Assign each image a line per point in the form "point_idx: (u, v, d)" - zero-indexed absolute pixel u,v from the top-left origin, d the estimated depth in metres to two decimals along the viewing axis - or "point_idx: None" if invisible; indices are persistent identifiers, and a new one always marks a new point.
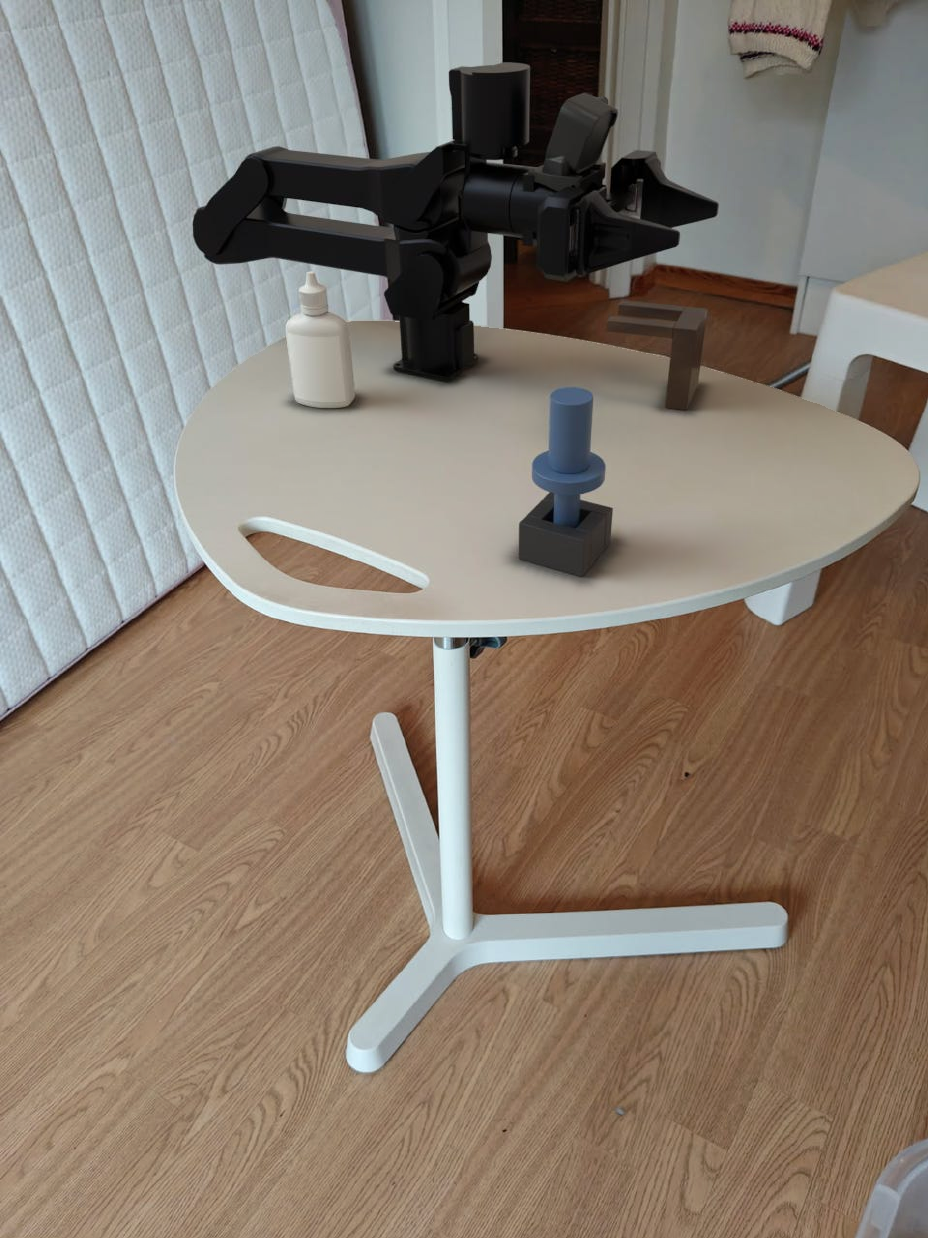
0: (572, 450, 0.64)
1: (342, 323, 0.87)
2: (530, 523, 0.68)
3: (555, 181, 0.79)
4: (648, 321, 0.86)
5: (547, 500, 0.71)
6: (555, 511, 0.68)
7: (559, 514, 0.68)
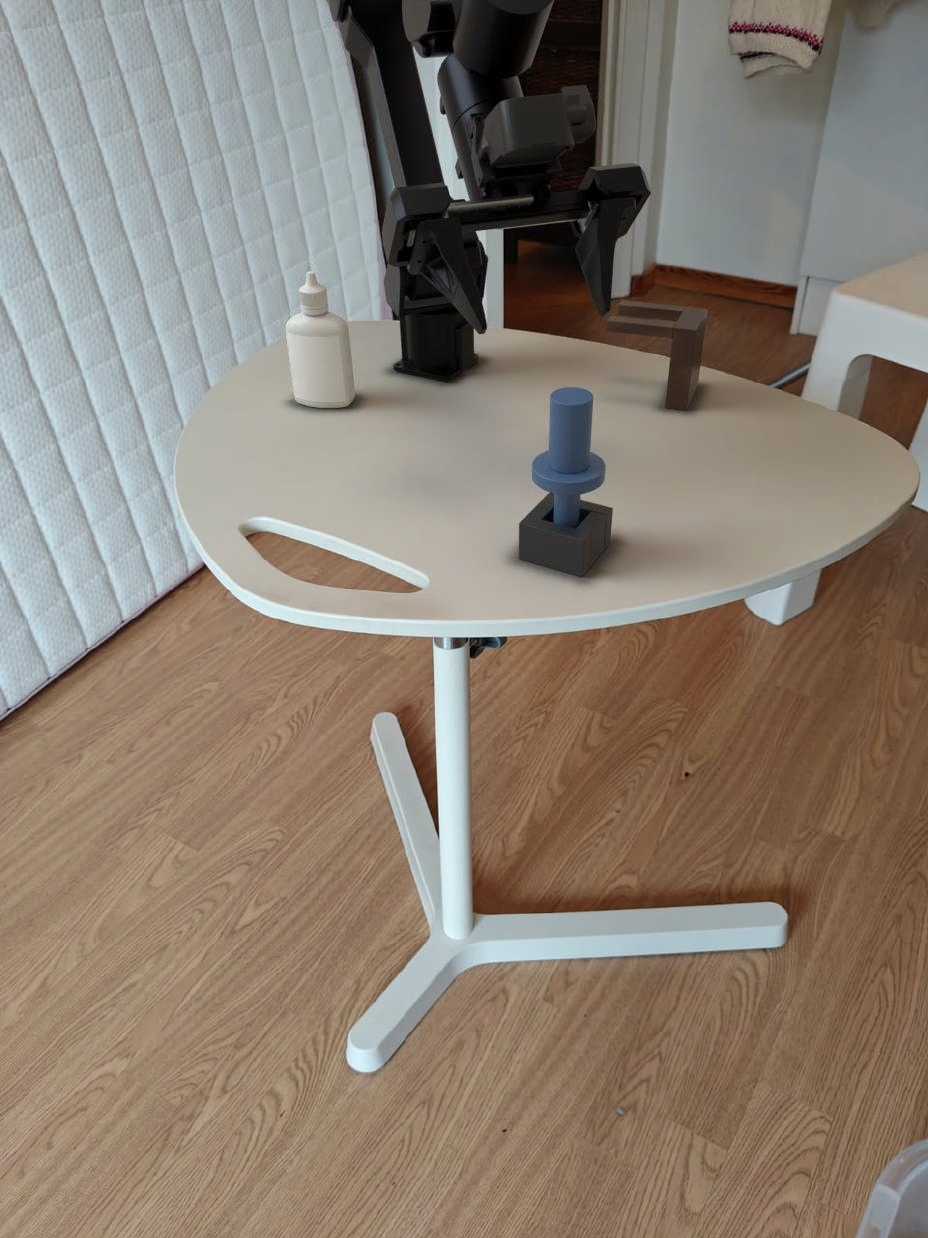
0: (572, 450, 0.64)
1: (342, 323, 0.87)
2: (530, 523, 0.68)
3: (474, 156, 0.67)
4: (648, 321, 0.86)
5: (547, 500, 0.71)
6: (555, 511, 0.68)
7: (559, 514, 0.68)
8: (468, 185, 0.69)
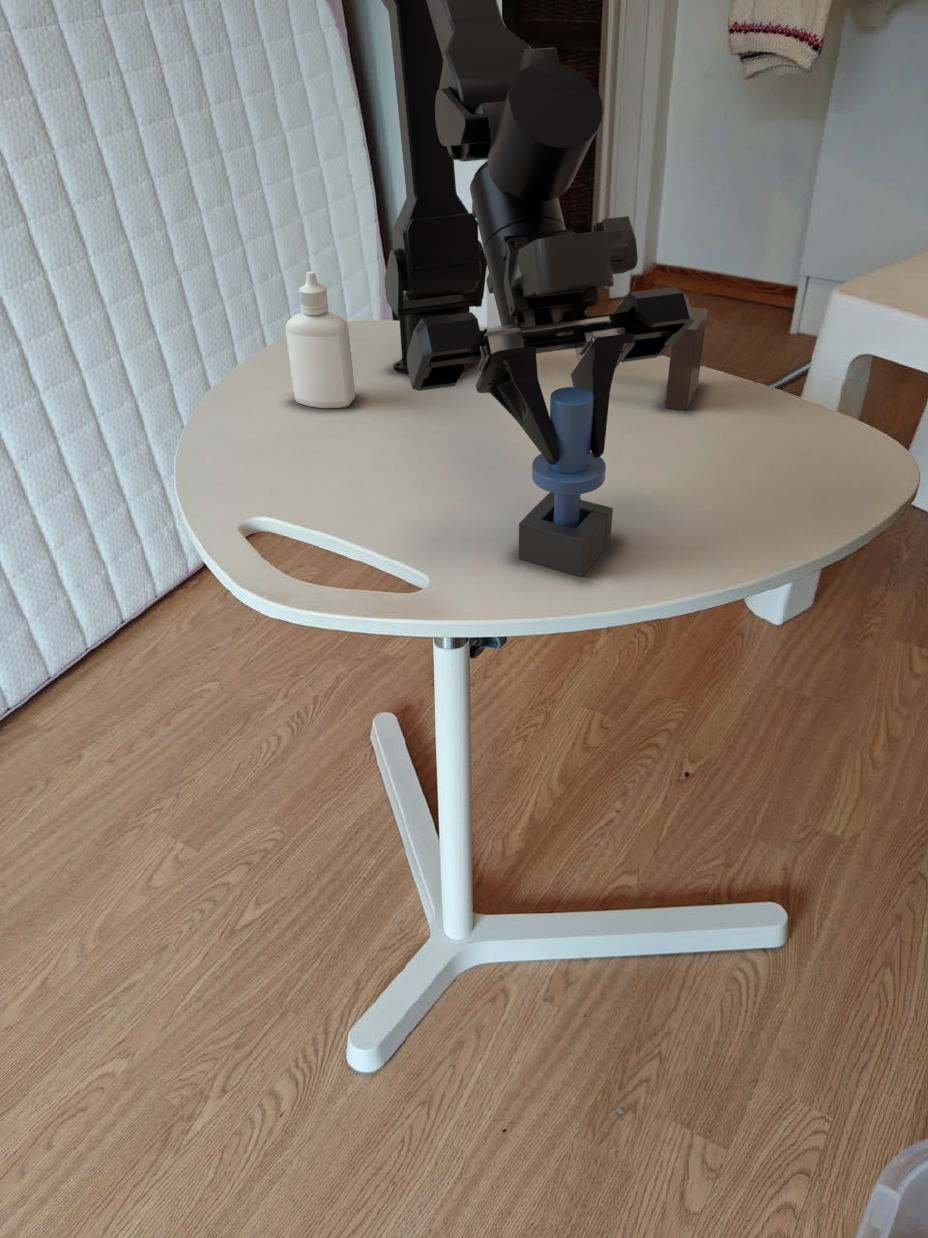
0: (572, 450, 0.64)
1: (342, 323, 0.87)
2: (530, 523, 0.68)
3: (506, 284, 0.63)
4: None
5: (547, 500, 0.71)
6: (555, 511, 0.68)
7: (559, 514, 0.68)
8: (499, 308, 0.66)
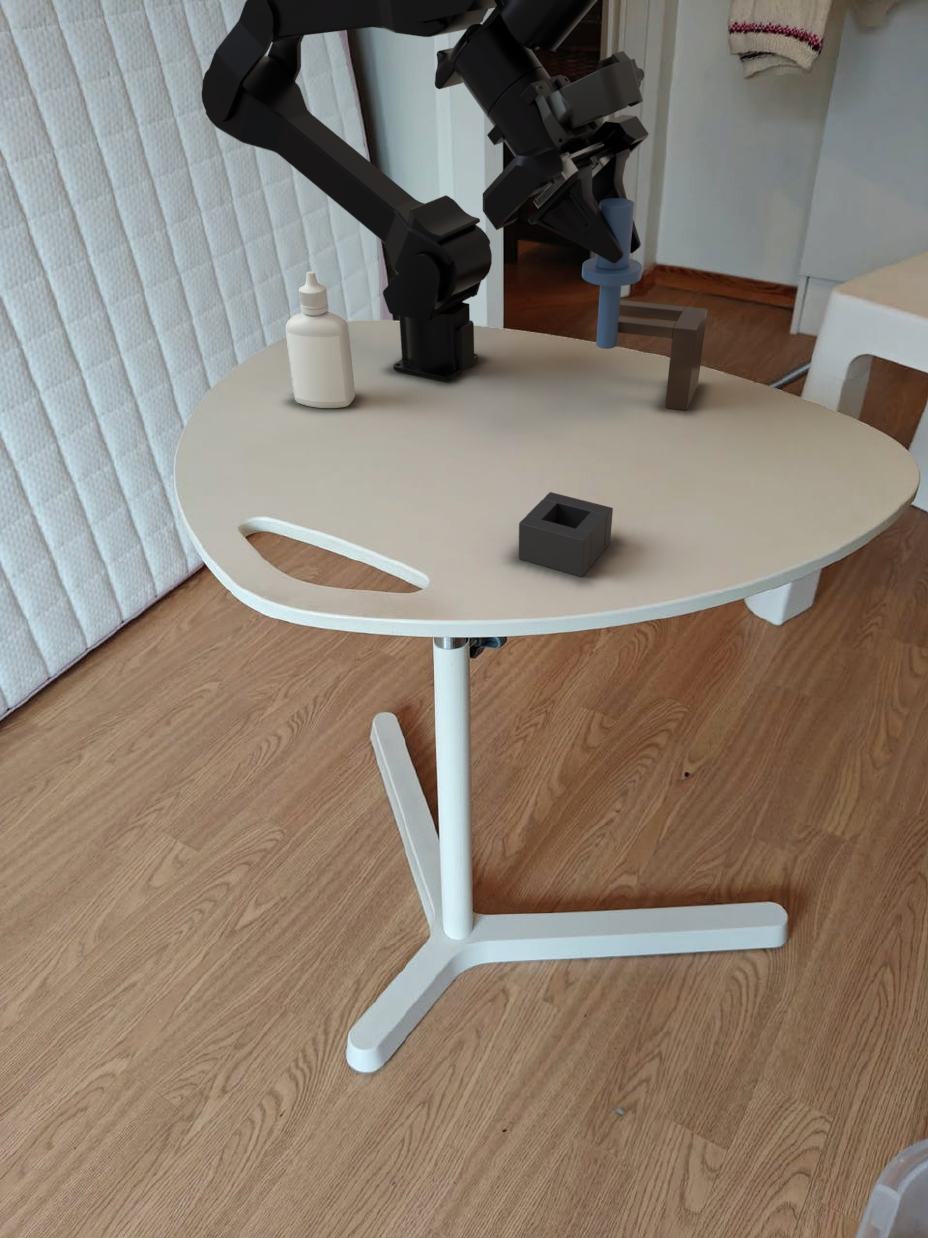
0: (626, 246, 0.81)
1: (342, 323, 0.87)
2: (530, 523, 0.68)
3: (550, 120, 0.76)
4: (648, 321, 0.86)
5: (547, 500, 0.71)
6: (605, 308, 0.84)
7: (610, 309, 0.84)
8: (531, 148, 0.78)
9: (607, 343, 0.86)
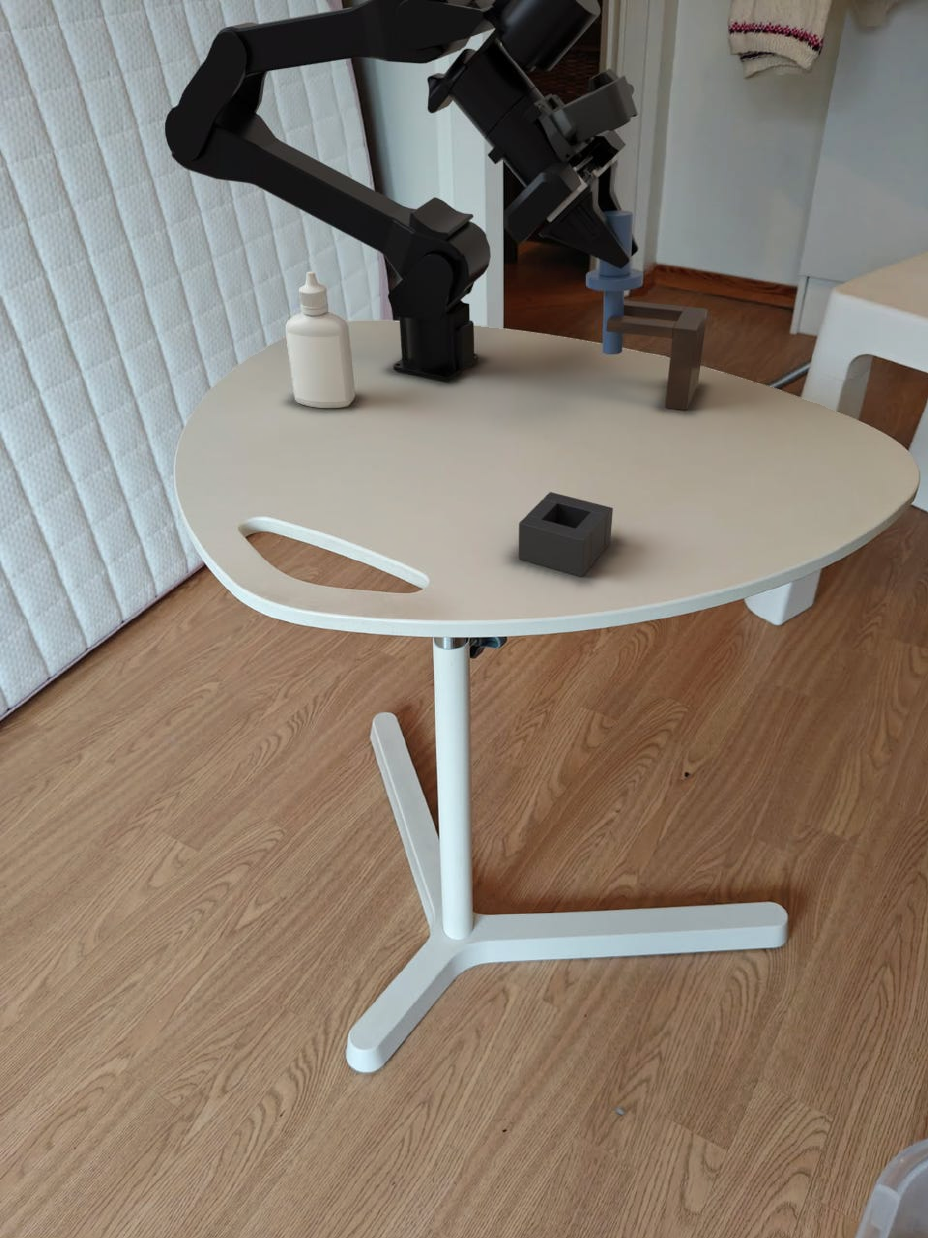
0: (629, 253, 0.85)
1: (341, 323, 0.87)
2: (530, 523, 0.68)
3: (556, 137, 0.79)
4: (648, 321, 0.86)
5: (547, 500, 0.71)
6: (611, 315, 0.88)
7: (616, 316, 0.88)
8: (537, 164, 0.81)
9: (615, 348, 0.89)
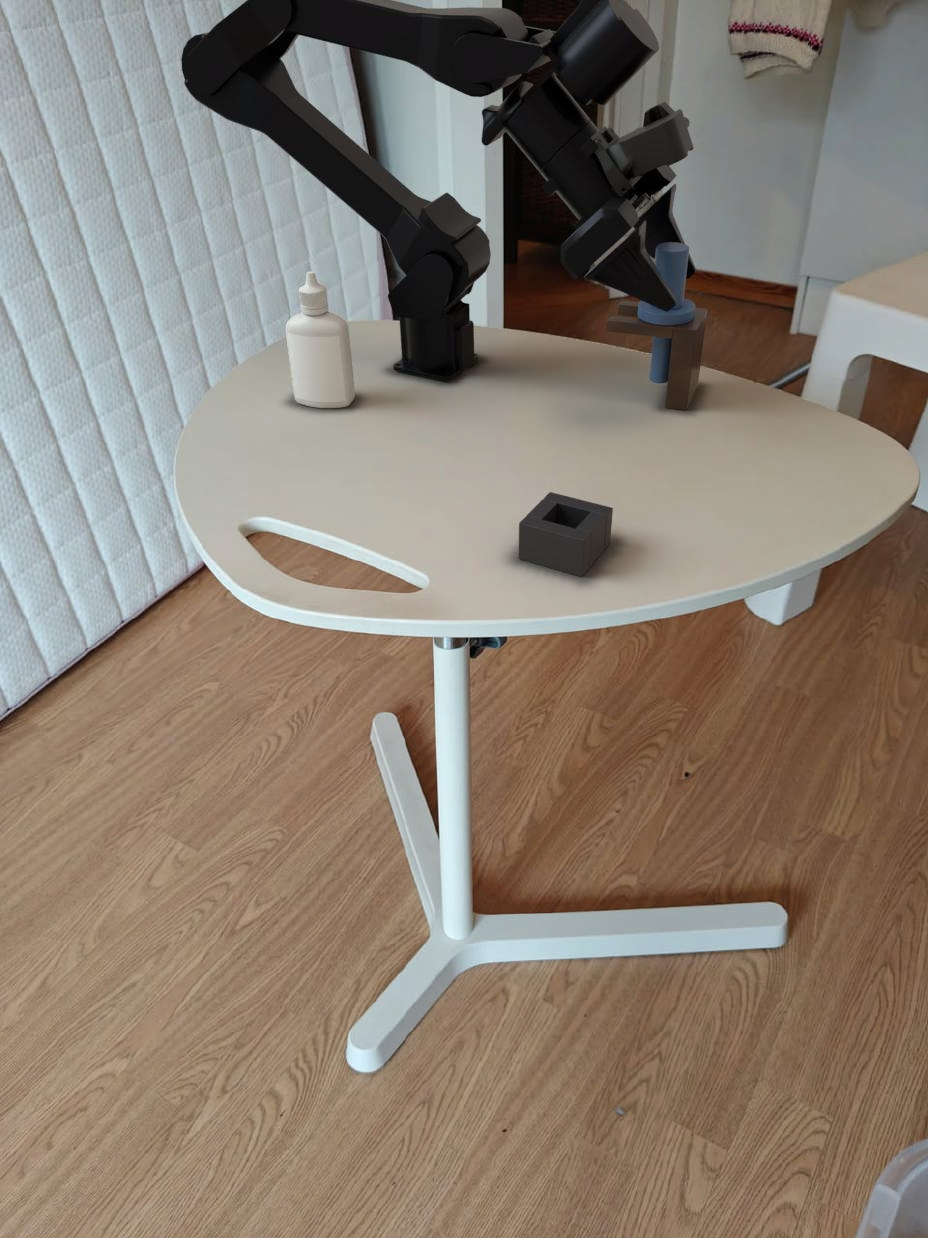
0: (683, 287, 0.85)
1: (341, 323, 0.87)
2: (530, 523, 0.68)
3: (613, 171, 0.79)
4: None
5: (547, 500, 0.71)
6: (662, 346, 0.88)
7: (666, 346, 0.88)
8: (592, 198, 0.81)
9: (663, 377, 0.90)
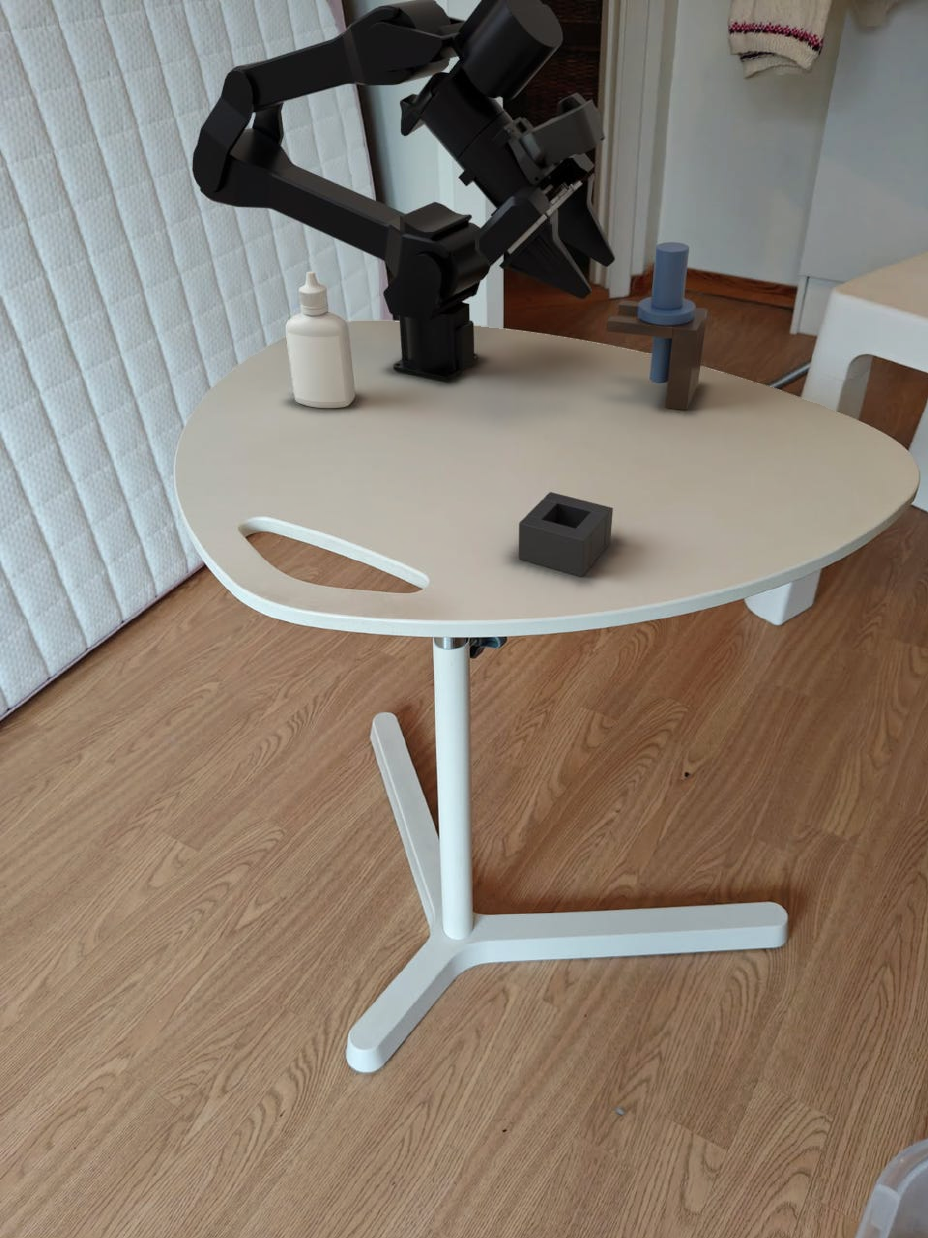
0: (683, 287, 0.85)
1: (342, 323, 0.87)
2: (530, 523, 0.68)
3: (526, 161, 0.81)
4: None
5: (547, 500, 0.71)
6: (662, 346, 0.88)
7: (666, 346, 0.88)
8: (507, 187, 0.83)
9: (663, 377, 0.90)
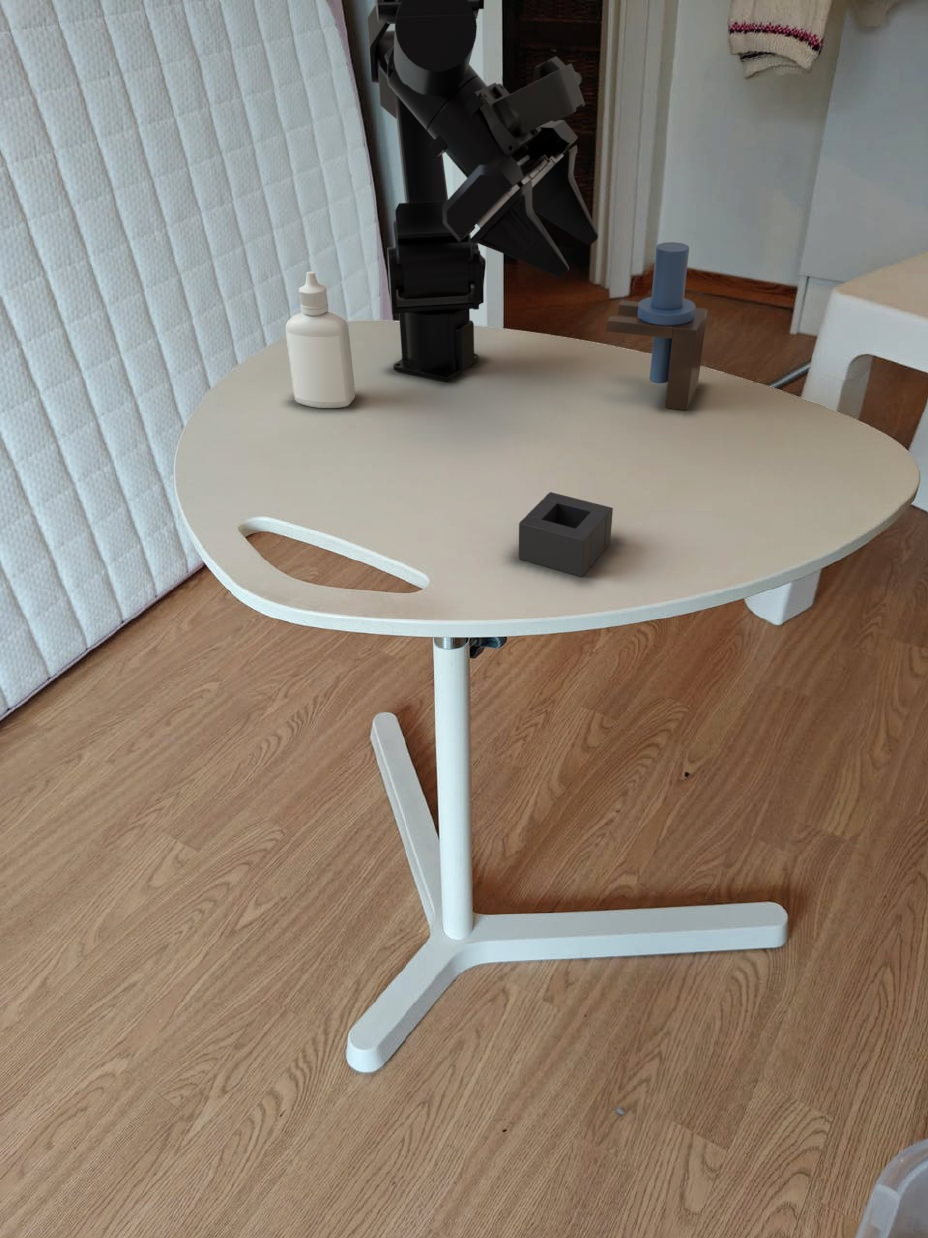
0: (683, 287, 0.85)
1: (341, 323, 0.87)
2: (530, 523, 0.68)
3: (499, 128, 0.75)
4: None
5: (547, 500, 0.71)
6: (662, 346, 0.88)
7: (666, 346, 0.88)
8: (479, 157, 0.77)
9: (663, 377, 0.90)
